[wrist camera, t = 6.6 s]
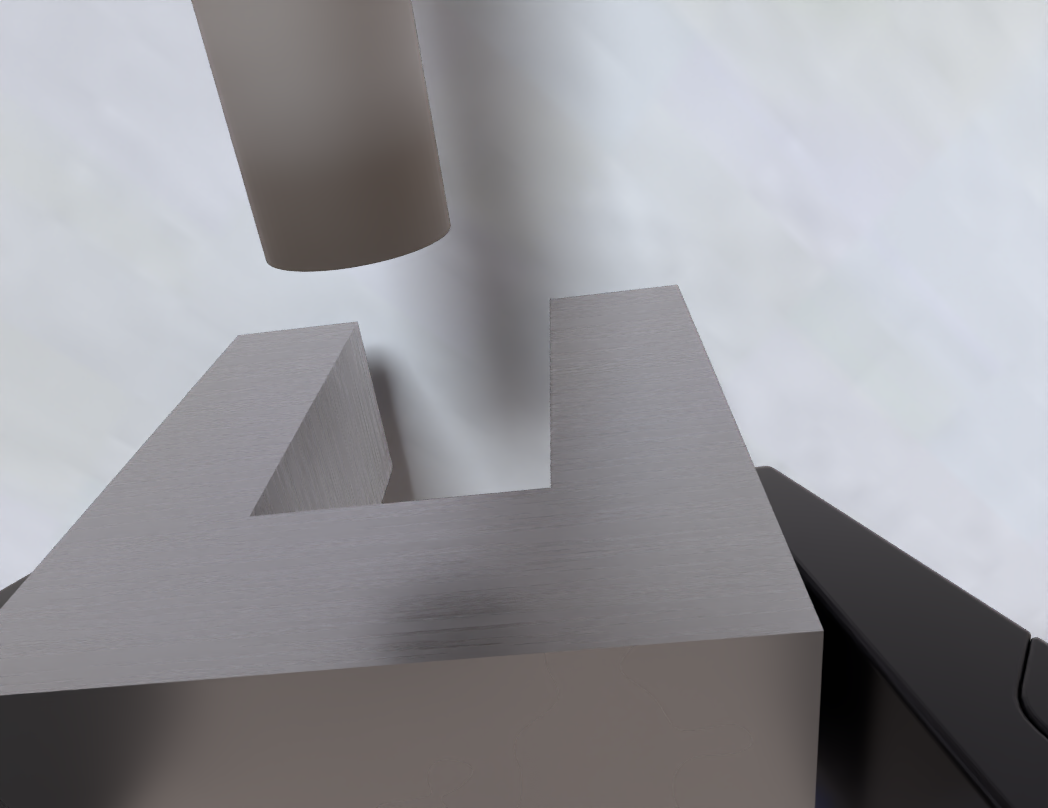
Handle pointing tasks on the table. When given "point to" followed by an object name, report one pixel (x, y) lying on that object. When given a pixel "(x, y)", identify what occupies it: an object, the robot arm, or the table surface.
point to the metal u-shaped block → (422, 602)
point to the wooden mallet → (328, 127)
